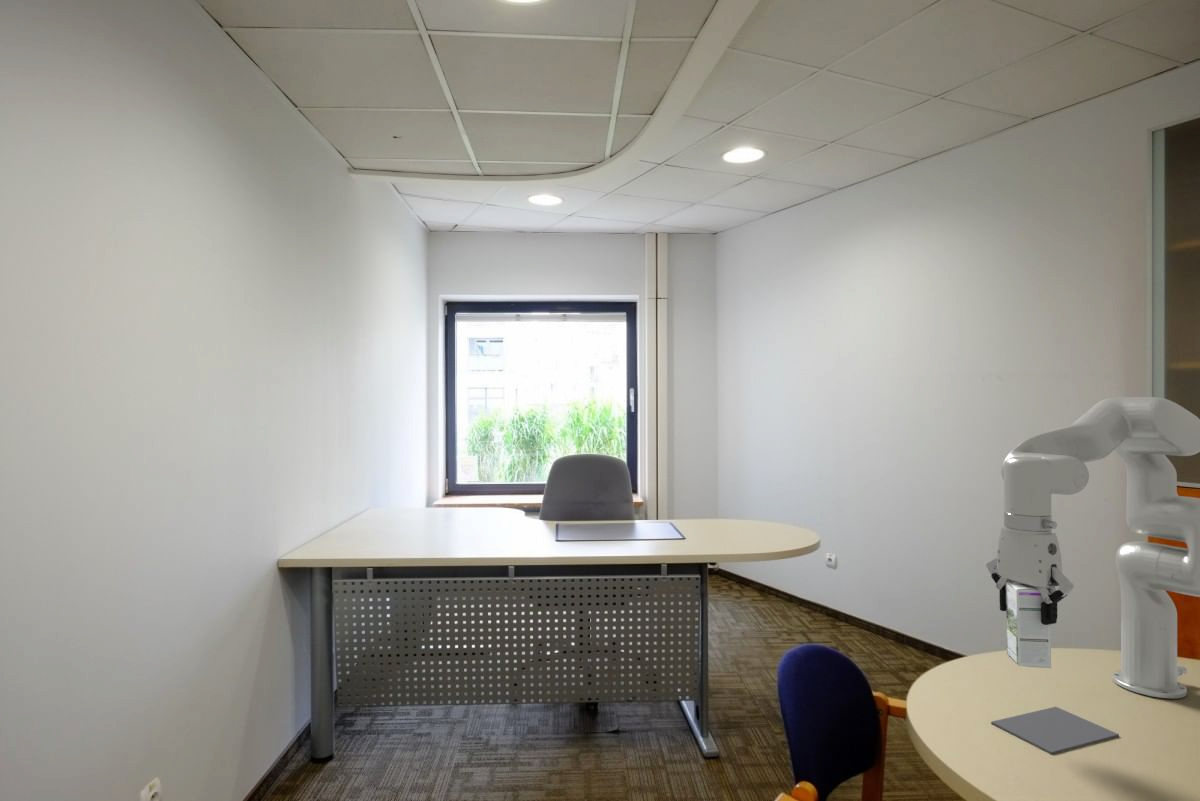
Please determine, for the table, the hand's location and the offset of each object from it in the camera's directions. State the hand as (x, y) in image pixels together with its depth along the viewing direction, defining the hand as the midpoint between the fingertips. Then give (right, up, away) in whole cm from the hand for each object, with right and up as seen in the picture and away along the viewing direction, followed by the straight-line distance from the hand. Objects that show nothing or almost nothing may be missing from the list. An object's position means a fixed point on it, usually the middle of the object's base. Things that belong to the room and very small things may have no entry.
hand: (1027, 616), depth 126 cm
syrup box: (0, -9, 0) cm, 9 cm away
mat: (+7, -23, +2) cm, 24 cm away
